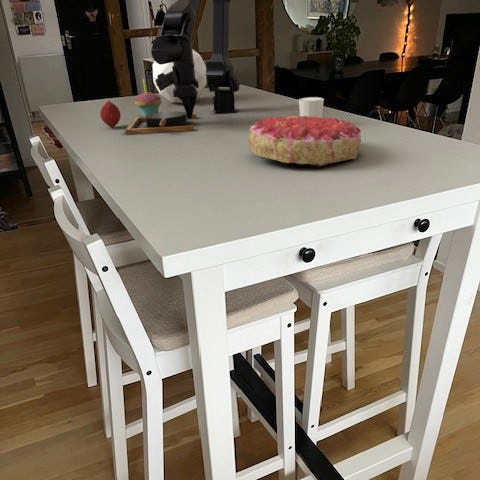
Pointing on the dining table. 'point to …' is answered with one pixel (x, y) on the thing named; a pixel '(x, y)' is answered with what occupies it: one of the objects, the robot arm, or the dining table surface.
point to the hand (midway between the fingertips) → (189, 118)
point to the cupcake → (147, 102)
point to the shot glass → (311, 106)
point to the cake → (305, 140)
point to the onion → (110, 114)
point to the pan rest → (131, 127)
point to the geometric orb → (168, 91)
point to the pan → (166, 119)
